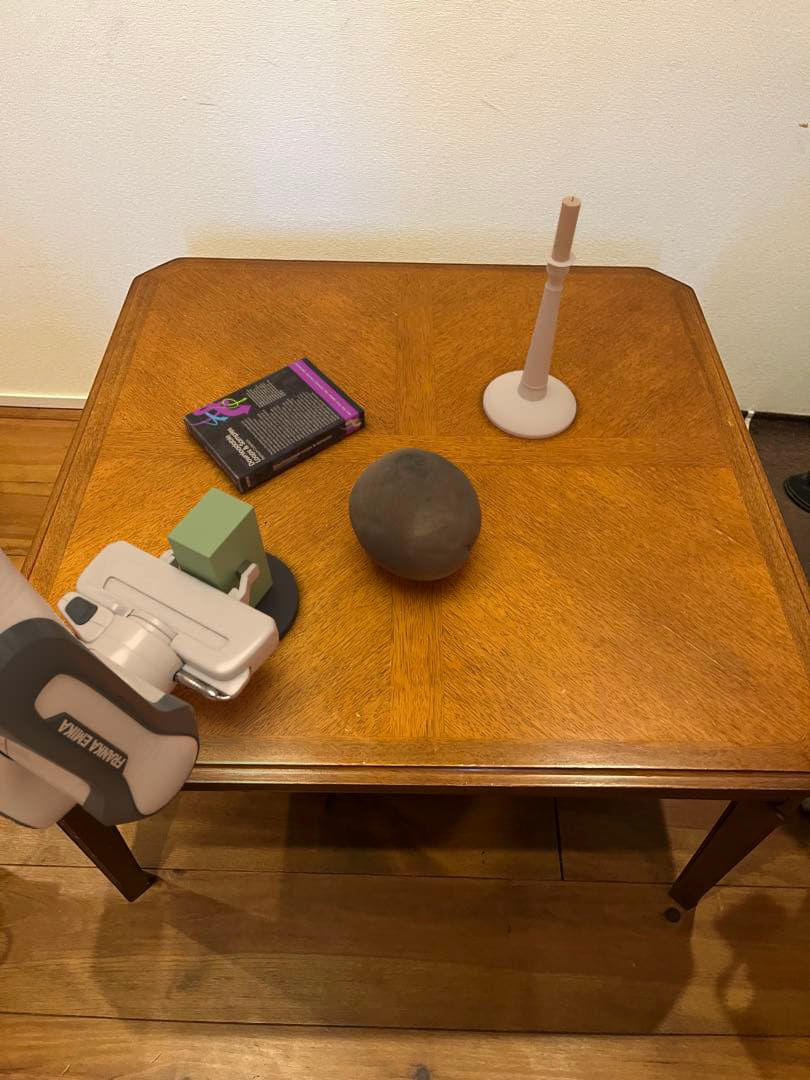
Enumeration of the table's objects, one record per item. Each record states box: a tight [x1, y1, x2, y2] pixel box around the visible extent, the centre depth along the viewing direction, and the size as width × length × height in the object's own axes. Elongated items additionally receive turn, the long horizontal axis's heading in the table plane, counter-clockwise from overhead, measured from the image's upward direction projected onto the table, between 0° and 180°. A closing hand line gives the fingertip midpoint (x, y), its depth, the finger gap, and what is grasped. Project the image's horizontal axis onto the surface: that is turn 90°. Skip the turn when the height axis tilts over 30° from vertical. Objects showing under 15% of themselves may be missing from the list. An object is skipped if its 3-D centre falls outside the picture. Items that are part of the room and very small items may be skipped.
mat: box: [254, 551, 300, 642], centre depth 82 cm, size 14×14×1 cm
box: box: [182, 356, 366, 494], centre depth 97 cm, size 14×4×20 cm
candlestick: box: [482, 195, 582, 440], centre depth 90 cm, size 13×13×30 cm
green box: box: [166, 486, 273, 608], centre depth 76 cm, size 5×7×14 cm
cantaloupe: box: [348, 447, 483, 581], centre depth 81 cm, size 14×14×15 cm
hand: (227, 552), depth 76 cm, fingers closed on green box, 5 cm apart
